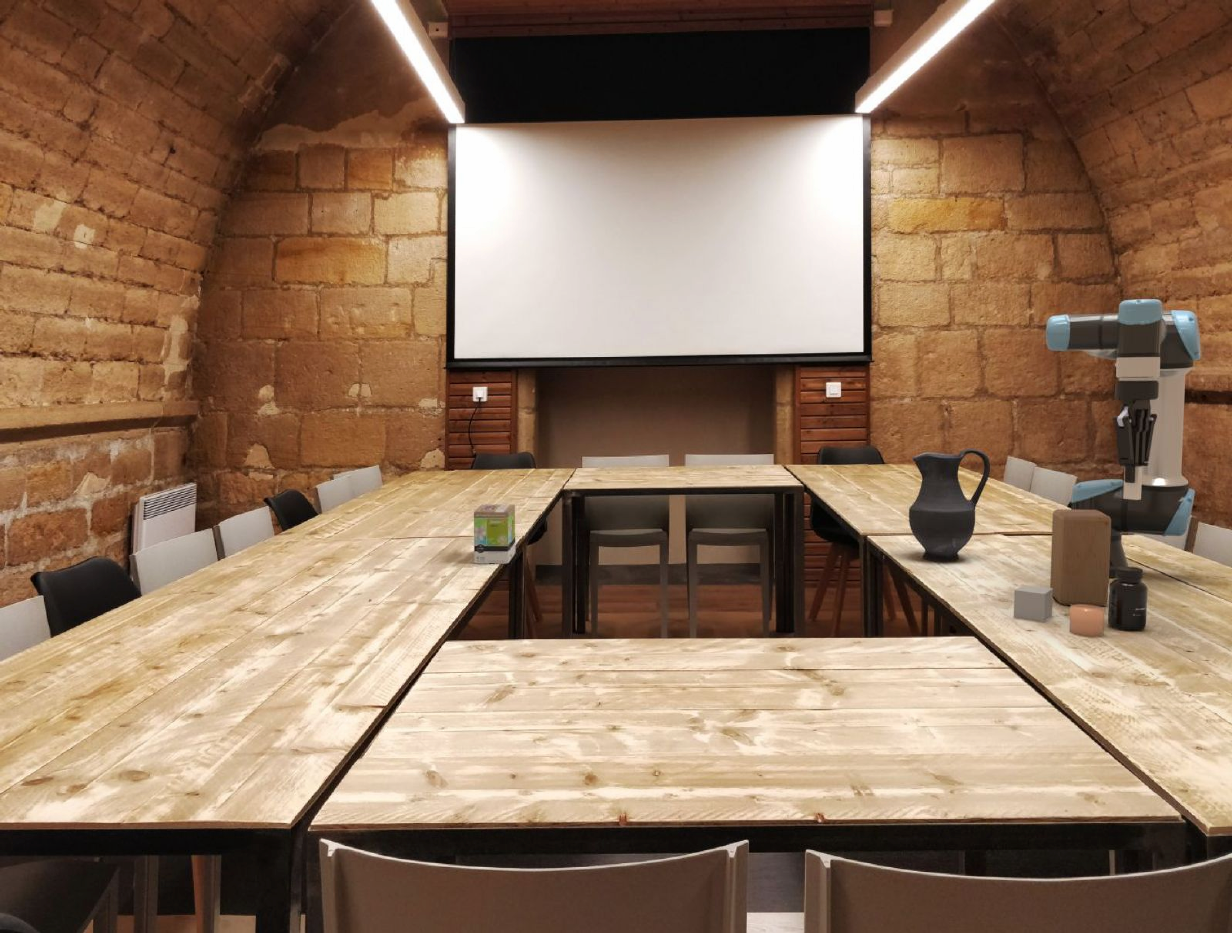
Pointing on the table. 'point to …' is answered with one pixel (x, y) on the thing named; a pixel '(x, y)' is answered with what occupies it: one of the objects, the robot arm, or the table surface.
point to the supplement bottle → (1128, 600)
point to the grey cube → (1033, 603)
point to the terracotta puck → (1086, 620)
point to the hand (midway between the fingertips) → (1132, 498)
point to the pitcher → (944, 505)
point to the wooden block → (1080, 557)
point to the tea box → (494, 534)
